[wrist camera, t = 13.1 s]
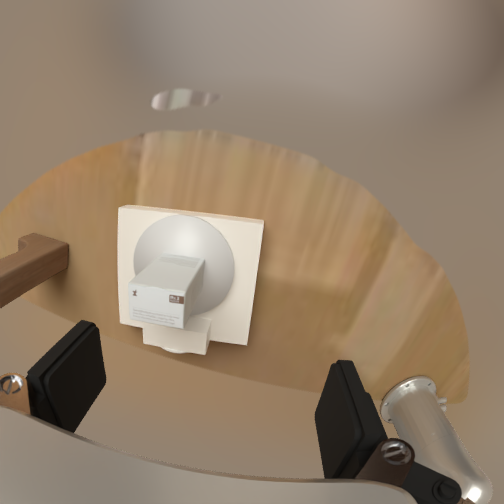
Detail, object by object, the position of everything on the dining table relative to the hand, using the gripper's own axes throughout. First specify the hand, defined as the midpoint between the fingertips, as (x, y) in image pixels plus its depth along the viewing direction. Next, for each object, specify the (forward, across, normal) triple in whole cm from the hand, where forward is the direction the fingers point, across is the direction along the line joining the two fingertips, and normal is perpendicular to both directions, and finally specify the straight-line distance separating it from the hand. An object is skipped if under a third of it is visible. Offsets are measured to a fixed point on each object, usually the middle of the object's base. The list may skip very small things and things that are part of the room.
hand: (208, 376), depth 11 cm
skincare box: (+28, +8, +6) cm, 30 cm away
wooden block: (+32, +34, +8) cm, 48 cm away
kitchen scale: (+32, +8, +8) cm, 34 cm away
